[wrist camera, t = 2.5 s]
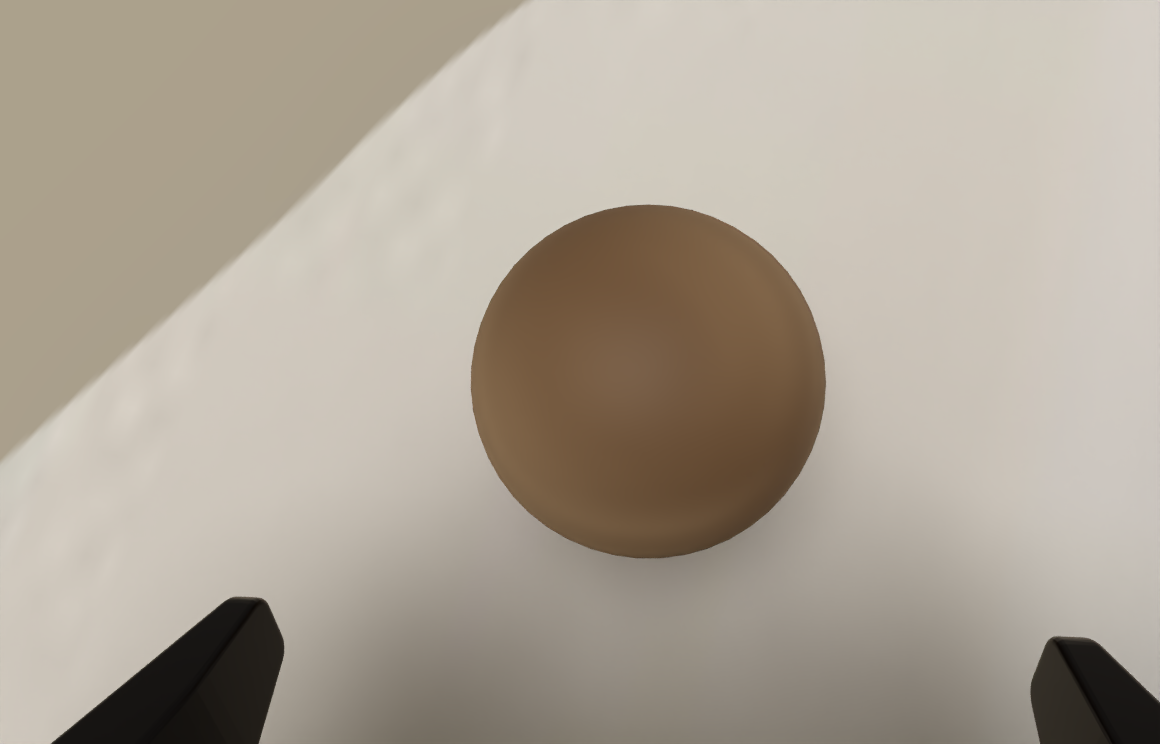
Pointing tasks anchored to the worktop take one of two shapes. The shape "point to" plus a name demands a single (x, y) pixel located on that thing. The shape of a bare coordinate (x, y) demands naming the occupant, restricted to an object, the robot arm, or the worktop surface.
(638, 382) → the dome-topped wooden peg
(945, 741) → the worktop surface
